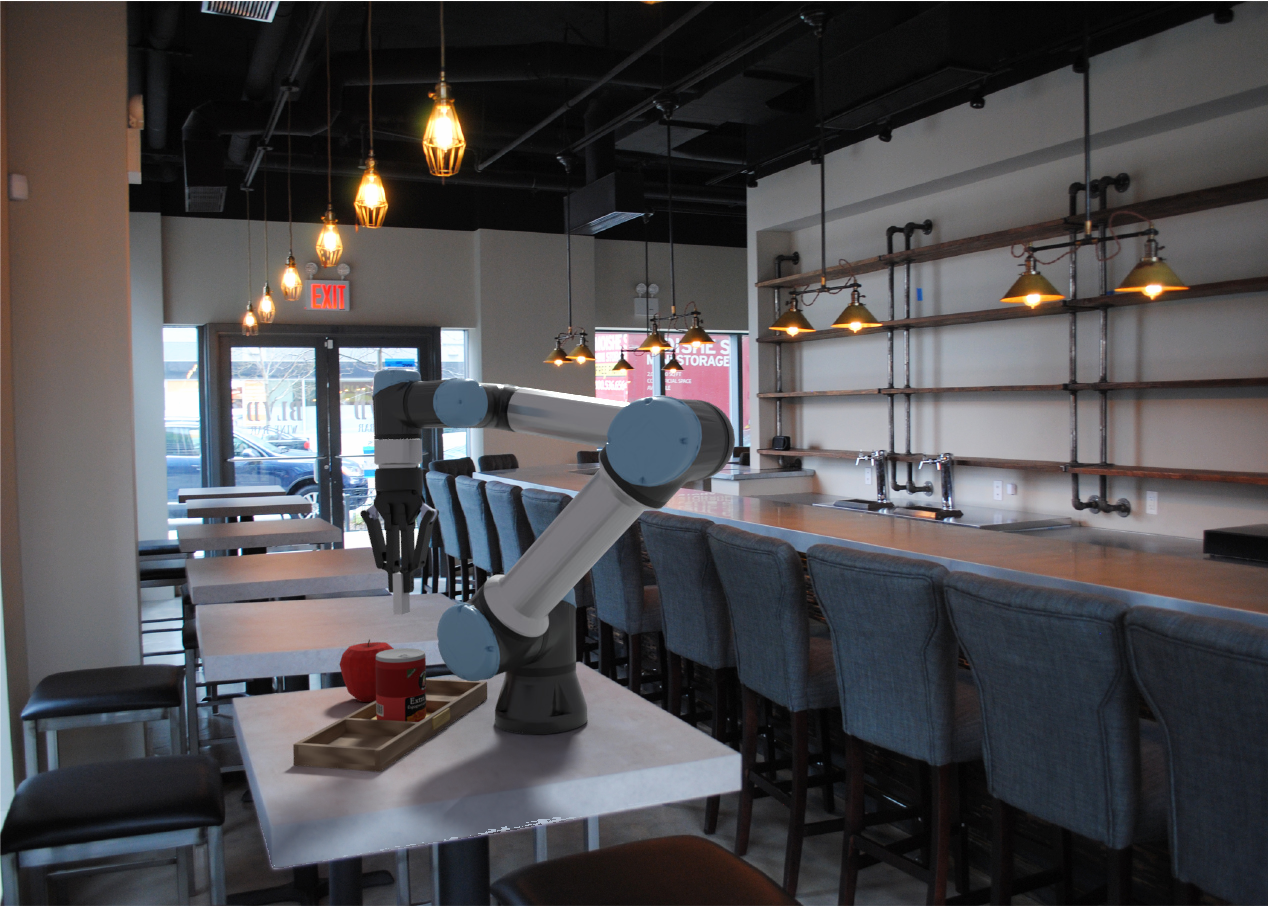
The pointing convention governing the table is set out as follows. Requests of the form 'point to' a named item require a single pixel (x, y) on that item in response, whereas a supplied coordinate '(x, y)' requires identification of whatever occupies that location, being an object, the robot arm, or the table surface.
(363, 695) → the apple
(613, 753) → the table surface
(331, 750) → the caddy
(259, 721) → the table surface
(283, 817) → the table surface
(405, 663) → the canned food
